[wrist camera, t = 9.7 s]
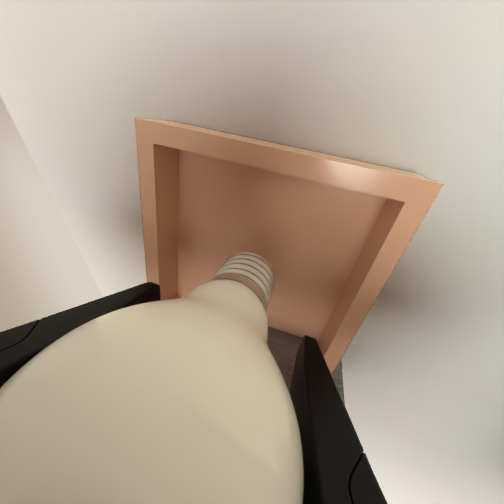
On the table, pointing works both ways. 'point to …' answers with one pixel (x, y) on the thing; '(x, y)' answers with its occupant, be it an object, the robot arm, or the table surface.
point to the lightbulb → (158, 405)
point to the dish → (276, 223)
